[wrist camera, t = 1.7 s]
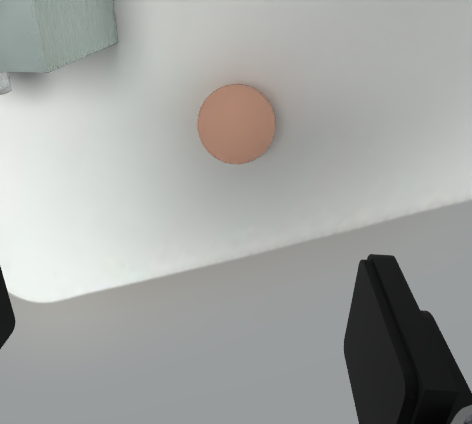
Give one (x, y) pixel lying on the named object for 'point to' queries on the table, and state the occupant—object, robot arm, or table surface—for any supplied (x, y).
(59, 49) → the box
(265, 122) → the peach sphere
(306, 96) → the table surface
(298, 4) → the table surface
